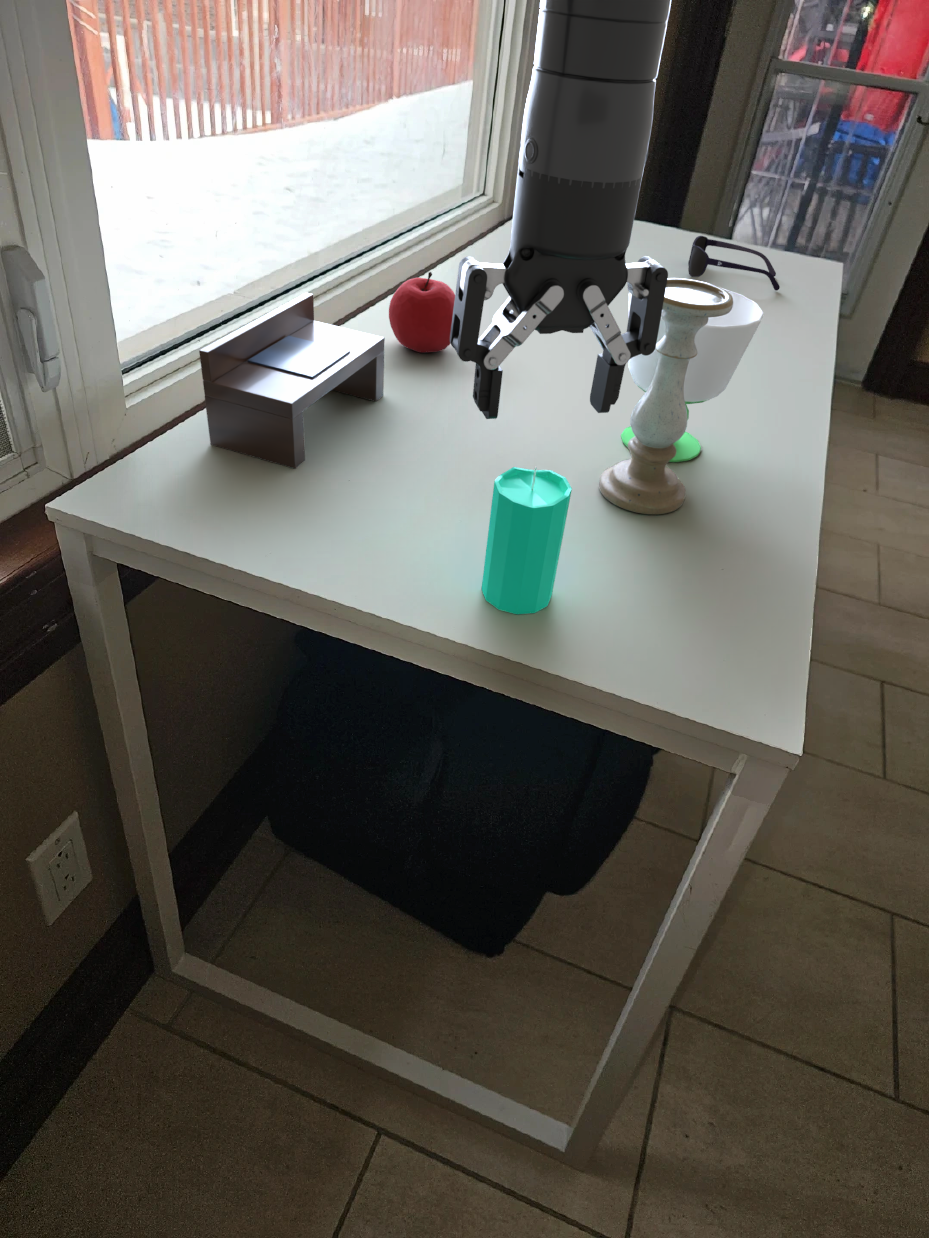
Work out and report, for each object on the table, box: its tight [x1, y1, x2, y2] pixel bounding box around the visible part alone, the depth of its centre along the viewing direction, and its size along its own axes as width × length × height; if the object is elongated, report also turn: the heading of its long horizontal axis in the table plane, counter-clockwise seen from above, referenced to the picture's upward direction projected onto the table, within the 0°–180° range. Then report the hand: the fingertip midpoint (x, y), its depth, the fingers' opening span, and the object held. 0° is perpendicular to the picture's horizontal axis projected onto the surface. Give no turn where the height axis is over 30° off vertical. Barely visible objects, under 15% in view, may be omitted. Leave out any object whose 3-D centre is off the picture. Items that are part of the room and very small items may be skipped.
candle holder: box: [598, 277, 733, 515], centre depth 79 cm, size 9×9×20 cm
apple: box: [388, 271, 456, 354], centre depth 108 cm, size 9×9×10 cm
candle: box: [481, 466, 573, 615], centre depth 67 cm, size 6×6×12 cm
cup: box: [620, 286, 765, 463], centre depth 90 cm, size 14×14×16 cm
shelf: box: [198, 292, 385, 469], centre depth 89 cm, size 20×10×10 cm, turn 158°
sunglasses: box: [687, 235, 781, 291], centre depth 145 cm, size 14×16×5 cm
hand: (544, 411), depth 61 cm, fingers open, 8 cm apart
